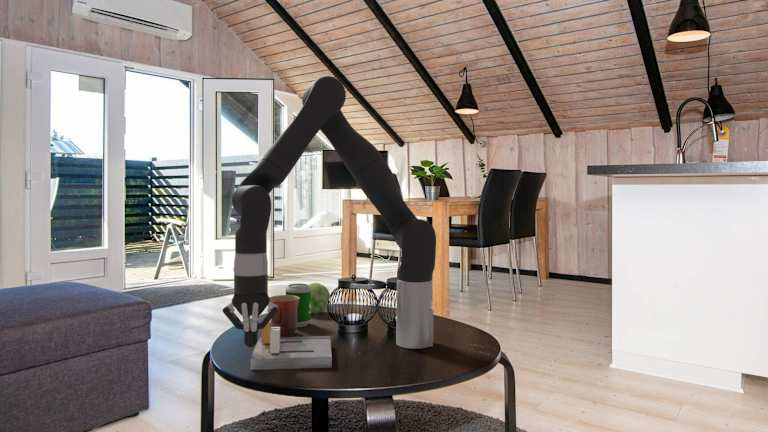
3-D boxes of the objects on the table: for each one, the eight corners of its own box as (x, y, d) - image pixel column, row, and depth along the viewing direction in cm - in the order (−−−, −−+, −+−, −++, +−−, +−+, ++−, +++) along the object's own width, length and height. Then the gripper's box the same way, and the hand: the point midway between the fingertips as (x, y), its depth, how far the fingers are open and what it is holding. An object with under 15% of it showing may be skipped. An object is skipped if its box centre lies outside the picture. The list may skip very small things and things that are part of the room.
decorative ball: (332, 315, 168) (332, 285, 167) (301, 317, 165) (301, 286, 165) (327, 309, 177) (327, 280, 177) (298, 310, 175) (298, 281, 174)
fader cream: (280, 348, 122) (280, 326, 122) (278, 353, 119) (279, 330, 119) (271, 348, 122) (271, 326, 122) (270, 353, 119) (270, 330, 118)
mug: (275, 329, 150) (275, 294, 150) (304, 331, 148) (304, 295, 148) (257, 340, 138) (257, 302, 138) (288, 343, 137) (288, 304, 136)
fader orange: (271, 339, 130) (271, 318, 130) (270, 343, 126) (270, 321, 126) (263, 339, 130) (263, 318, 129) (261, 343, 126) (261, 322, 126)
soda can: (308, 328, 152) (308, 287, 151) (282, 327, 152) (283, 287, 152) (312, 321, 159) (312, 283, 159) (288, 321, 160) (288, 282, 159)
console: (329, 345, 135) (329, 335, 134) (331, 367, 118) (331, 356, 118) (259, 347, 132) (259, 337, 132) (250, 369, 115) (250, 358, 115)
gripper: (281, 269, 124) (281, 341, 124) (224, 269, 122) (224, 342, 123) (279, 274, 116) (278, 350, 117) (218, 274, 114) (218, 352, 115)
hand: (250, 346), depth 120 cm, fingers closed
